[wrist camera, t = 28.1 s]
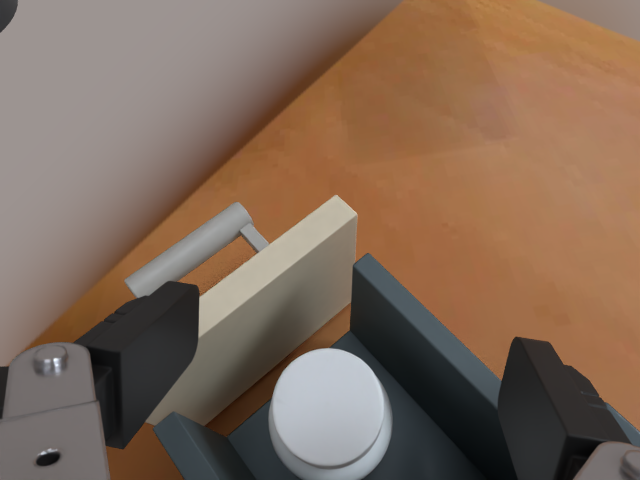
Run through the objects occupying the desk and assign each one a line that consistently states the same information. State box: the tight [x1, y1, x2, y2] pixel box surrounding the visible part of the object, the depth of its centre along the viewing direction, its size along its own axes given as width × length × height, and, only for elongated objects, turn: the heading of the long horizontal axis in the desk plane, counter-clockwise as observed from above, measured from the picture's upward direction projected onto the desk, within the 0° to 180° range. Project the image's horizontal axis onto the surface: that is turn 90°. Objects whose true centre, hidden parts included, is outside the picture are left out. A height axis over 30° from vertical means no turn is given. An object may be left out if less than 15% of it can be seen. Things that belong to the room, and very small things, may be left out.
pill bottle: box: [268, 348, 393, 480], centre depth 18 cm, size 4×4×8 cm
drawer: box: [125, 195, 518, 480], centre depth 19 cm, size 18×10×9 cm, turn 41°
